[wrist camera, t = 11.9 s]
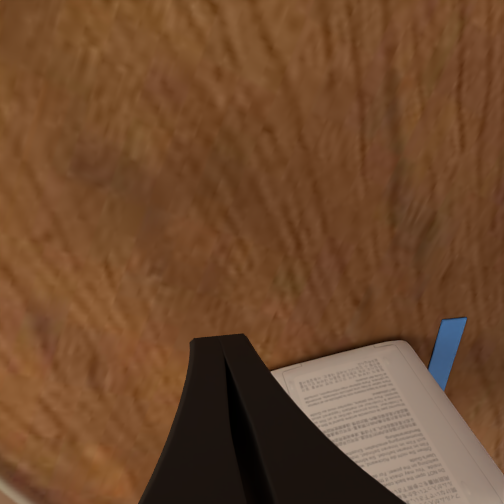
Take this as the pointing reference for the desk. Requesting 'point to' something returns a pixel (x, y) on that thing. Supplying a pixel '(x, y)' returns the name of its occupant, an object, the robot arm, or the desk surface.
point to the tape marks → (446, 349)
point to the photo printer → (395, 424)
